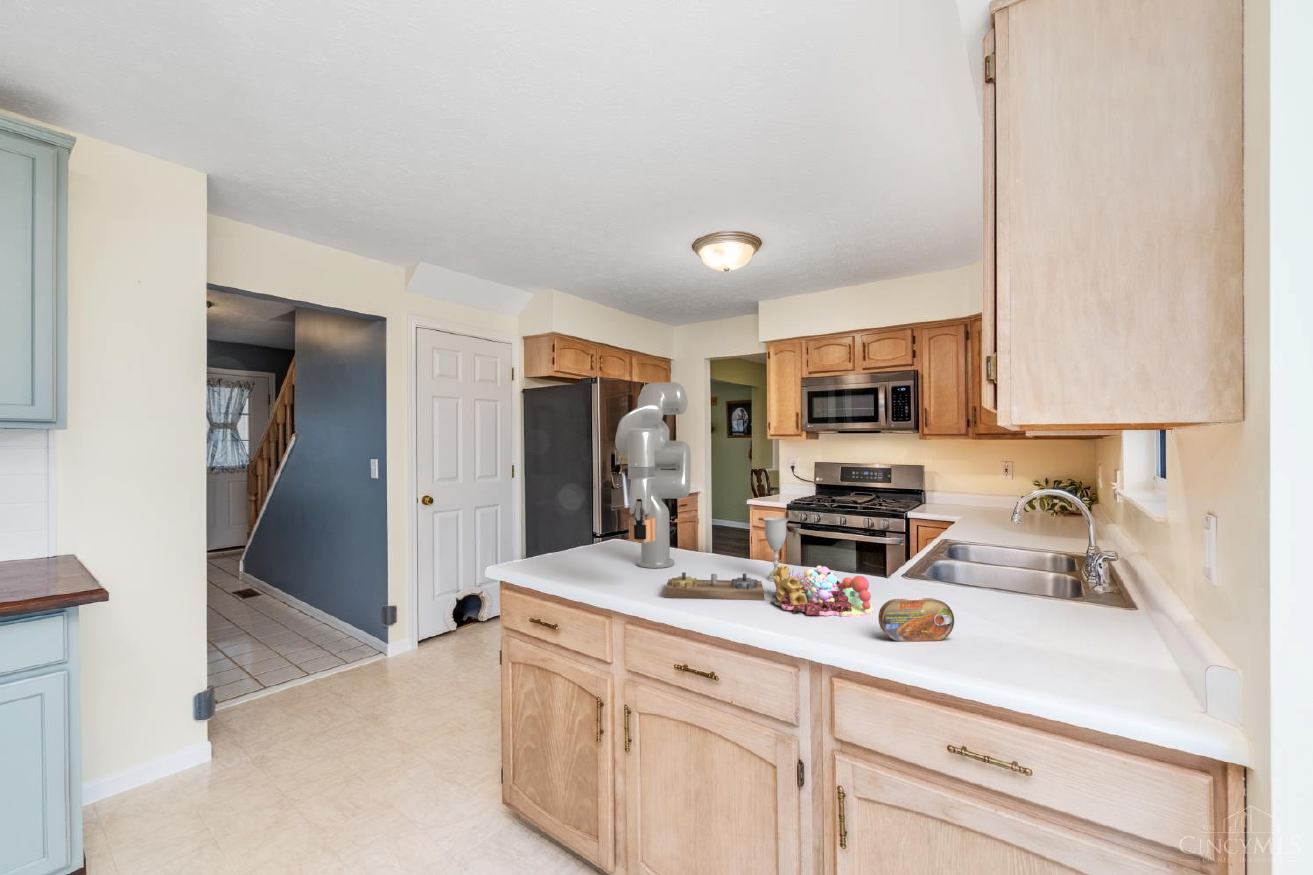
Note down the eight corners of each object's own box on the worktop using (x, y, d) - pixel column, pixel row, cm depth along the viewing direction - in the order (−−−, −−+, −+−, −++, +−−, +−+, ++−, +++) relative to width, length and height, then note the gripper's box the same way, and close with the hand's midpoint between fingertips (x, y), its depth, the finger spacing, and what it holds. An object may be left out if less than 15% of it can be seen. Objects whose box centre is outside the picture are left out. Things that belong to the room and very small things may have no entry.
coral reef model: (783, 619, 132) (783, 579, 132) (760, 592, 156) (760, 558, 156) (889, 617, 133) (888, 578, 133) (850, 590, 157) (850, 557, 157)
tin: (882, 642, 116) (882, 601, 116) (876, 637, 119) (876, 596, 119) (955, 641, 117) (955, 600, 117) (947, 635, 120) (947, 595, 120)
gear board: (668, 586, 162) (668, 567, 162) (761, 588, 159) (761, 569, 159) (664, 597, 150) (664, 577, 150) (764, 600, 147) (764, 579, 147)
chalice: (787, 577, 171) (786, 517, 172) (790, 582, 165) (789, 520, 165) (762, 576, 172) (761, 517, 172) (764, 582, 165) (763, 520, 165)
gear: (631, 537, 163) (631, 516, 163) (656, 537, 163) (656, 516, 162) (627, 542, 156) (627, 520, 156) (653, 542, 156) (653, 520, 155)
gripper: (632, 470, 168) (633, 530, 168) (622, 476, 151) (623, 542, 151) (658, 470, 167) (658, 530, 168) (650, 475, 150) (651, 542, 150)
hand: (642, 535), depth 159 cm, fingers closed on gear, 7 cm apart
